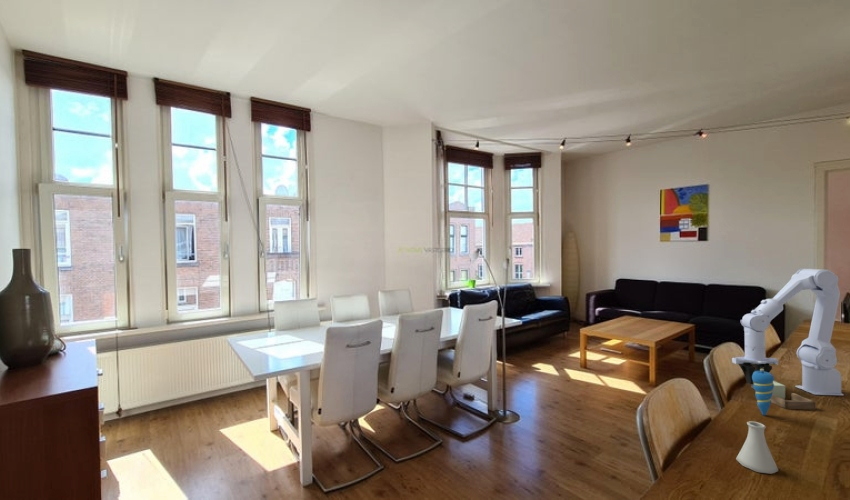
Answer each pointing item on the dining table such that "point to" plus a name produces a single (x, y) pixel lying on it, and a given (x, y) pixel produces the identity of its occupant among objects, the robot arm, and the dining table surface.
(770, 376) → the ornament
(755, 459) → the flask
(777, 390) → the sage block
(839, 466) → the dining table surface
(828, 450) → the dining table surface
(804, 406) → the frame
